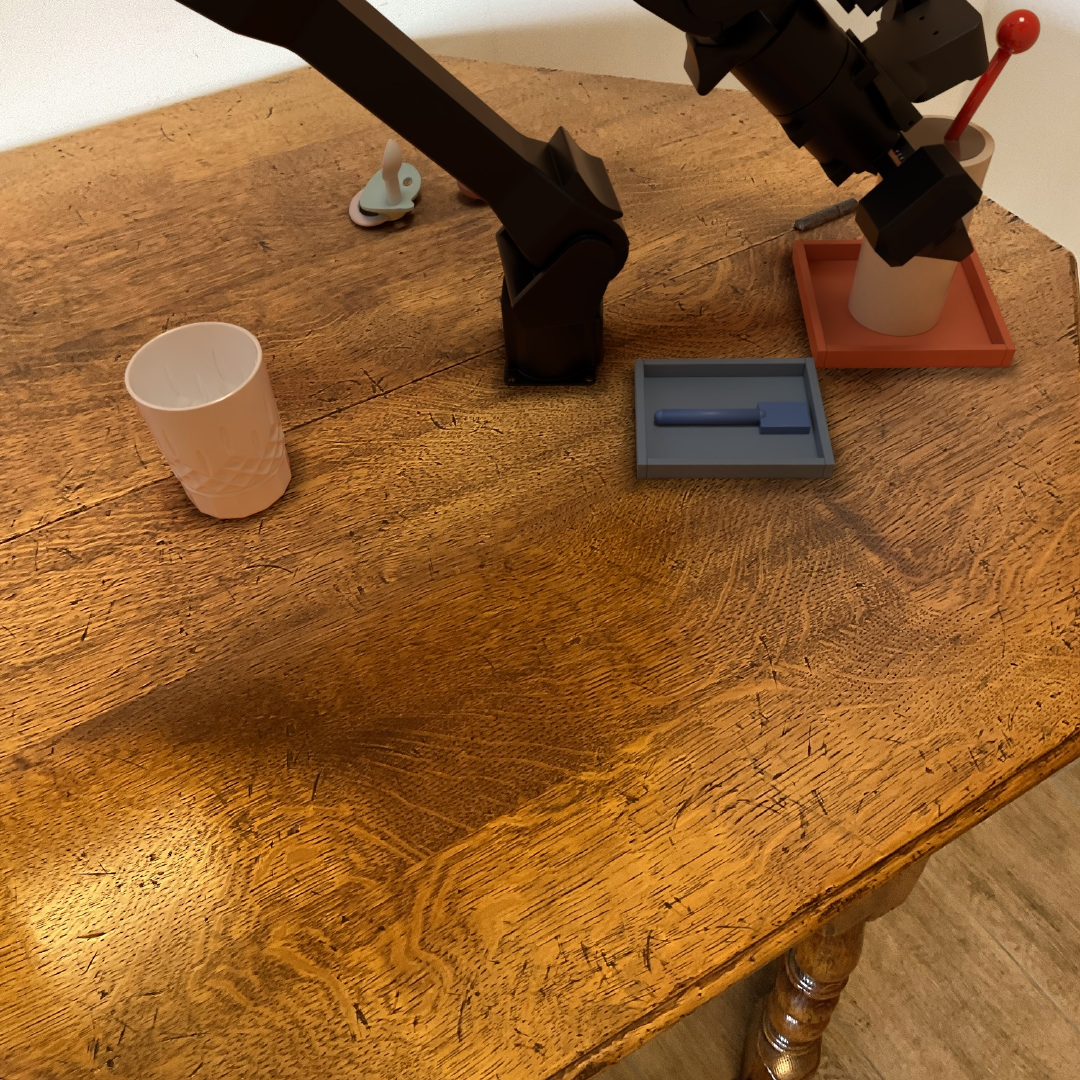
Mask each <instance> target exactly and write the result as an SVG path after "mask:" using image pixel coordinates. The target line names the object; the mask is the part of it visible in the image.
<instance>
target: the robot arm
mask: <svg viewBox="0 0 1080 1080" xmlns="http://www.w3.org/2000/svg"><path fill="white" fill-rule="evenodd" d="M174 1H175V2H176V3H178V4H180V5H182V6H183V7H185V8H187V9H189V10H190V11H193V12H195V13H196V14H198V15H200V16H202V17H204V18H206V19H208V20H209V21H211V22H213V23H215V24H216V25H218V26H220V27H222V28H224V29H225V30H227V31H229V32H231V33H233V34H235V35H238V36H242V37H245V38H249V39H253V40H256V41H259V42H261V43H262V42H263V43H266V44H268V45H273V46H276V47H280V48H284V49H285V50H288V51H289V52H291V53H293V54H295V55H296V56H298V57H299V58H300V59H302V60H303V61H304V62H306V64H308V65H309V66H311V67H312V68H313V69H314V70H315V71H316V72H318V73H319V74H321V75H322V76H323V77H325V79H327V80H328V81H329V82H331V83H332V84H333V85H334V86H336V87H337V88H338V89H340V90H341V91H343V92H344V93H345V94H346V95H347V96H349V97H350V98H351V99H353V100H354V101H355V102H357V104H359V105H360V106H362V107H363V108H364V109H365V110H366V111H368V112H369V113H370V114H372V115H373V116H374V117H376V118H377V119H378V120H380V121H381V122H382V123H383V124H384V125H386V126H387V127H388V128H390V129H391V130H392V131H394V132H395V133H396V134H397V135H399V136H400V137H401V138H402V139H404V140H405V142H407V143H409V144H410V145H411V146H413V148H415V149H417V150H418V151H419V152H420V153H422V154H423V155H424V156H425V157H427V158H428V159H429V160H431V162H433V163H435V164H436V165H437V166H438V167H439V168H441V169H442V170H443V171H445V172H446V173H447V174H448V175H450V176H451V177H452V178H454V180H456V182H457V181H459V182H460V183H461V184H463V185H464V186H465V187H466V188H468V189H469V190H470V191H472V192H473V193H474V194H475V195H477V196H478V197H479V198H480V199H479V200H482V201H483V202H484V203H485V204H487V205H488V207H489V208H490V209H491V211H493V213H494V214H495V217H496V218H498V220H499V222H500V223H501V225H502V226H501V227H500V228H499V229H498V230H497V231H496V233H495V235H494V236H495V240H496V246H497V250H498V254H499V258H500V262H501V267H502V272H503V277H502V284H501V293H500V294H501V295H500V312H501V322H502V323H501V324H502V334H503V343H504V355H505V360H504V361H505V362H504V371H503V380H502V381H503V384H504V385H505V386H507V387H569V386H570V387H572V386H573V387H576V386H577V387H578V386H579V387H580V386H581V387H583V386H585V387H589V386H593V385H595V384H596V383H597V367H598V366H599V365H600V366H601V365H602V364H603V363H604V297H605V293H606V292H607V289H608V286H609V284H610V282H612V281H613V280H614V279H616V277H618V275H619V274H620V273H621V272H622V270H623V269H624V267H625V265H626V263H627V260H628V259H629V254H630V253H629V252H630V244H631V242H630V238H629V236H628V233H627V232H626V229H625V226H624V223H623V221H622V218H623V217H624V212H623V209H622V207H621V204H620V202H619V199H618V197H617V194H616V191H615V188H614V185H613V184H612V181H611V178H610V176H609V173H608V170H607V168H606V165H605V163H604V161H603V158H602V157H599V156H596V155H592V154H590V153H588V152H587V151H586V150H584V149H582V148H581V147H580V145H579V144H578V143H577V142H576V140H575V139H574V138H573V137H572V135H571V134H570V133H569V131H568V130H567V129H566V128H565V127H564V126H563V125H559V126H558V127H557V129H556V130H555V132H554V133H553V135H552V136H551V138H550V139H549V141H548V142H546V141H544V140H539V139H536V138H533V137H529V136H527V135H524V134H523V133H521V132H519V130H517V129H515V127H514V126H512V125H511V124H510V123H509V122H508V121H507V120H505V119H504V118H503V117H502V116H501V115H499V114H498V113H497V112H496V111H495V110H494V109H493V108H492V107H491V106H489V104H487V103H486V102H485V101H484V100H483V99H481V98H480V97H479V96H477V94H476V93H474V92H473V91H472V90H470V88H469V87H467V85H465V84H464V83H462V81H460V79H458V78H457V77H456V76H455V75H453V73H451V72H450V71H449V70H447V68H445V67H444V66H443V65H442V64H441V63H439V61H437V60H436V59H435V57H433V56H432V55H430V54H429V53H428V52H426V50H424V49H423V48H422V47H421V46H420V45H419V44H417V43H416V42H415V41H414V40H413V39H412V38H410V36H408V35H407V34H406V33H405V32H404V31H402V29H400V28H399V27H398V26H396V25H395V24H394V23H393V22H392V21H391V20H389V18H387V17H386V16H385V15H384V14H383V13H382V12H381V11H380V10H378V9H377V8H376V7H375V6H374V5H372V3H370V2H369V1H368V0H174ZM632 1H633V2H634V3H636V4H637V5H638V6H640V8H643V9H645V10H646V11H648V12H650V13H652V14H653V15H655V16H656V17H658V18H659V19H661V20H662V21H664V22H666V23H668V24H669V25H671V26H672V27H674V28H676V29H678V30H679V31H681V32H682V33H685V35H684V36H685V40H686V51H685V54H684V60H683V69H684V71H685V73H686V75H687V77H688V79H689V81H690V82H691V84H692V86H693V87H694V90H695V91H696V93H697V94H698V96H700V97H705V96H707V95H709V94H710V93H711V92H712V91H713V90H714V89H715V88H716V87H717V85H718V84H719V83H721V81H723V79H724V78H725V77H726V76H727V75H728V74H729V73H730V74H731V75H733V77H734V78H735V79H736V80H737V81H738V82H739V83H740V84H741V85H742V86H743V87H744V88H745V89H746V90H747V91H748V92H749V93H750V94H751V95H752V96H753V97H754V98H755V99H756V100H757V101H758V102H759V103H760V104H761V105H762V106H763V107H764V108H765V109H766V110H767V111H768V112H769V113H770V114H771V115H772V117H774V118H775V120H776V121H778V124H780V127H781V128H782V130H783V132H784V133H785V135H786V137H787V138H788V139H789V140H790V142H791V143H792V144H793V145H794V146H795V147H797V149H798V150H800V149H801V148H802V147H803V148H804V149H805V150H806V151H807V152H808V153H809V154H810V155H811V156H812V157H813V158H814V159H815V160H816V161H817V162H818V164H819V166H820V167H821V169H822V170H823V172H824V174H825V176H826V177H827V178H828V180H830V182H831V183H832V184H833V185H835V187H837V188H839V187H840V186H841V185H842V184H843V183H845V182H846V181H847V180H848V179H849V178H850V177H851V176H853V174H855V175H861V174H863V173H865V172H866V173H869V174H871V175H874V176H875V177H877V174H878V173H879V174H880V176H881V177H882V179H883V180H882V181H881V182H880V183H879V184H878V185H876V186H875V185H874V186H873V188H872V189H870V190H869V191H868V192H867V193H866V194H865V195H864V196H862V197H861V198H860V199H859V200H858V203H857V207H856V213H855V215H854V222H855V223H856V225H857V226H858V228H859V229H860V231H861V232H862V234H863V235H864V236H865V237H866V239H867V240H868V242H869V244H870V245H871V247H872V248H873V250H874V251H875V252H876V253H877V254H878V255H879V256H880V257H881V258H882V259H883V260H884V261H885V262H886V263H887V264H888V265H889V266H890V267H900V266H903V265H905V264H906V263H907V262H908V261H910V260H911V259H912V258H913V257H914V256H918V257H927V258H934V259H942V260H949V261H956V262H961V261H963V260H964V259H965V258H967V257H968V256H969V255H970V254H972V253H973V251H974V248H973V245H972V243H971V240H970V238H971V237H970V235H969V231H968V232H967V230H966V227H965V225H964V222H963V219H962V217H964V216H965V215H966V214H967V213H968V212H970V211H971V210H972V209H973V208H975V207H976V208H977V206H978V205H979V204H980V202H981V199H982V195H983V193H984V191H983V189H982V190H981V189H980V188H979V186H978V185H977V184H976V183H975V181H974V180H973V179H972V178H971V176H970V175H969V174H968V173H967V171H966V170H965V169H964V168H963V167H962V165H961V164H960V163H959V162H958V161H957V159H956V158H955V157H954V156H953V155H952V153H951V152H950V151H949V150H948V149H947V147H946V146H945V145H944V144H943V143H942V144H934V145H926V146H921V147H920V148H919V149H918V150H915V148H914V147H913V146H912V145H911V143H910V142H909V141H908V139H907V138H906V137H905V135H904V134H903V133H902V132H901V130H902V131H903V132H907V131H909V130H910V129H911V128H912V127H913V126H914V125H915V124H917V123H918V122H919V121H920V120H921V119H922V118H923V116H922V115H923V114H922V113H921V112H920V111H919V110H918V108H917V107H916V106H915V105H914V104H921V103H925V102H928V101H930V100H932V99H934V98H936V97H938V96H939V95H941V94H944V93H945V92H947V91H949V90H951V89H953V88H955V87H957V86H958V85H960V84H963V83H964V82H967V81H968V82H969V81H970V82H972V81H975V80H976V79H979V78H980V77H981V75H982V74H984V73H985V72H986V71H987V69H988V68H989V62H990V59H989V53H988V52H989V51H988V45H987V40H986V32H985V26H984V19H983V15H982V13H981V12H979V10H977V8H975V7H974V6H973V5H972V4H971V3H970V2H969V1H968V0H835V1H836V2H837V3H838V4H839V6H840V7H841V8H842V9H843V10H844V12H846V14H847V15H850V14H851V13H852V12H853V11H854V10H855V9H856V6H857V7H858V8H859V10H860V11H861V12H862V13H863V15H865V17H866V18H869V17H870V16H872V14H873V13H874V12H875V13H878V12H879V11H880V10H881V12H880V16H879V18H880V19H879V20H877V21H876V22H875V23H876V28H877V30H876V31H875V32H874V33H873V34H871V35H869V37H866V38H865V39H864V40H862V41H861V40H860V39H859V37H858V36H857V35H856V33H854V31H853V30H852V29H851V28H850V27H849V28H848V29H846V31H845V30H844V28H843V27H842V26H840V25H839V24H838V22H837V21H836V20H835V19H834V18H833V16H832V15H830V13H829V12H828V11H827V9H826V8H824V6H823V5H822V3H820V1H818V0H632ZM890 150H892V151H893V152H894V154H895V155H896V156H897V157H898V159H899V160H900V161H901V163H902V164H900V165H899V166H898V165H897V163H896V162H895V161H894V159H893V158H892V156H891V155H890V154H889V152H890ZM588 379H591V381H588ZM508 380H513V381H508Z"/></svg>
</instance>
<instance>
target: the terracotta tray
mask: <svg viewBox="0 0 1080 1080" xmlns="http://www.w3.org/2000/svg"><path fill="white" fill-rule="evenodd" d="M969 238H970V240H971V243H972V245H973V248H974V251H973V253H972V254H970V255H969V256H968V257H967V258H965V259H964V260H963V261H961V262H958V265H957V268H956V271H955V274H954V277H953V280H952V283H951V286H950V289H949V293H948V296H947V299H946V302H945V305H944V308H943V311H942V314H941V317H940V320H939V322H938V323H937V324H936V325H935V326H934V327H933V328H932V329H930V330H928V331H926V332H924V333H921V334H918V335H913V336H891V335H885V334H881V333H878V332H875V331H872V330H870V329H868V328H866V327H864V326H863V325H861V324H860V323H859V322H857V321H856V320H855V319H854V318H853V316H852V315H851V313H850V311H849V308H848V300H849V295H850V291H851V287H852V282H853V278H854V274H855V269H856V265H857V261H858V256H859V252H860V248H861V243H862V239H863V238H856V239H855V238H854V239H853V238H851V239H795V241H794V245H793V251H792V257H791V259H792V264H793V268H794V275H795V278H796V283H797V288H798V294H799V298H800V303H801V308H802V313H803V317H804V318H803V319H804V322H805V328H806V332H807V337H808V342H809V348H810V353H811V358H814V363H815V368H816V369H908V368H910V369H911V368H913V369H914V368H915V369H916V368H917V369H919V368H924V369H925V368H1009V367H1010V366H1011V363H1012V361H1013V358H1014V356H1015V353H1016V351H1017V348H1016V345H1015V343H1014V340H1013V338H1012V335H1011V333H1010V331H1009V328H1008V326H1007V323H1006V321H1005V318H1004V316H1003V314H1002V311H1001V308H1000V306H999V303H998V301H997V299H996V295H995V294H994V291H993V289H992V287H991V284H990V282H989V279H988V277H987V274H986V272H985V270H984V269H985V268H984V267H983V264H982V262H981V259H980V256H979V254H978V252H977V250H976V246H975V245H974V242H973V240H972V238H971V237H969Z"/></svg>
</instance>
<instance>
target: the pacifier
mask: <svg viewBox="0 0 1080 1080" xmlns="http://www.w3.org/2000/svg"><path fill="white" fill-rule="evenodd" d="M408 181H411V184H409V185H405V183H406V182H408ZM421 187H422V178H421V175H420V172H419V171H418V170H417V168H416V167H415V166H414V165H412V164H411V163H408V162H403V152H402V148H401V146H400V145H399V143H398V142H397V140H395V139H392V138H389V139H388V140H387V141H386V144H385V147H384V152H383V157H382V164H381V168H380V169H379V170H378V171H377V172H375V173H374V174H373V175H372V176H371V178H370V179H369V180H368V182H367V183H366V185H365V187H363V188H362V189H361V190H359V191H358V192H357V193H356V194H355V195H354V196H353V197H352V199H351V201H350V203H349V207H348V215H349V217H350V219H351V220H352V222H354V223H355V224H356V225H359V226H361V227H375V226H378V225H381V224H384V223H385V222H391V221H397V220H399V219H402V218H403V217H404V216H405V215H406V213H408V212H412V211H413V210H414V209H415V203H414V202H413V201H414V200H415V199H416V198H417V196H418V195H419V194H420V192H421ZM360 209H362V210H364V211H367V212H369V213H370V212H371V213H377V214H378V215H373V216H369V215H364V214H363V213H361V212H360Z"/></svg>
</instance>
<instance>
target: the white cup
mask: <svg viewBox="0 0 1080 1080" xmlns="http://www.w3.org/2000/svg"><path fill="white" fill-rule="evenodd" d="M265 360H266V359H265V356H264V353H263V348H262V346H261V344H260V341H259V340H258V339H257V337H256V336H255V335H254V334H253V333H252V332H251V331H249V330H248V329H245V328H244V327H242V326H240V325H237V324H234V323H229V322H224V321H199V322H194V323H188V324H184V325H181V326H178V327H177V326H176V327H174V328H171V329H169V330H167V331H165V332H163V333H160V334H159V335H157V336H155V337H153V338H152V339H150V340H149V341H147V342H146V343H144V344H143V345H142V346H141V347H140V348H139V349H138V350H137V351H136V352H135V353H134V354H133V355H132V357H131V359H129V362H128V363H127V365H126V368H125V371H124V384H125V385H124V386H125V388H126V391H127V392H128V394H129V396H130V398H131V400H132V402H133V403H134V405H135V407H136V408H137V410H138V412H139V414H140V416H141V418H142V420H143V421H144V424H145V425H146V427H147V429H148V430H149V432H150V434H151V437H152V439H153V440H154V441H155V444H156V445H157V447H158V449H159V451H160V453H161V454H162V456H163V457H164V460H165V461H166V462H167V465H168V466H169V468H170V469H171V471H172V473H173V474H174V476H175V478H176V479H177V480H178V481H179V482H180V484H181V486H182V488H183V490H184V492H185V493H186V496H187V497H188V499H189V500H190V502H191V503H192V504H193V505H194V506H195V508H196V509H197V510H198V511H199V512H200V513H202V514H205V515H208V516H210V517H214V518H216V519H220V520H223V519H225V520H226V519H242V518H243V519H244V518H246V517H249V516H251V515H254V514H257V513H259V512H262V511H265V510H267V509H268V508H269V507H271V506H272V505H273V504H274V503H275V502H277V501H278V500H279V499H280V498H281V497H282V496H284V494H285V492H286V490H287V488H288V486H289V484H290V482H291V479H292V471H291V464H290V463H291V461H290V458H289V454H288V451H287V448H286V444H285V443H286V442H285V441H286V437H285V433H284V430H283V427H282V421H281V416H280V413H279V409H278V405H277V401H276V398H275V397H276V396H275V394H274V390H273V387H272V383H271V379H270V375H269V371H268V367H267V364H266V361H265Z"/></svg>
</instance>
